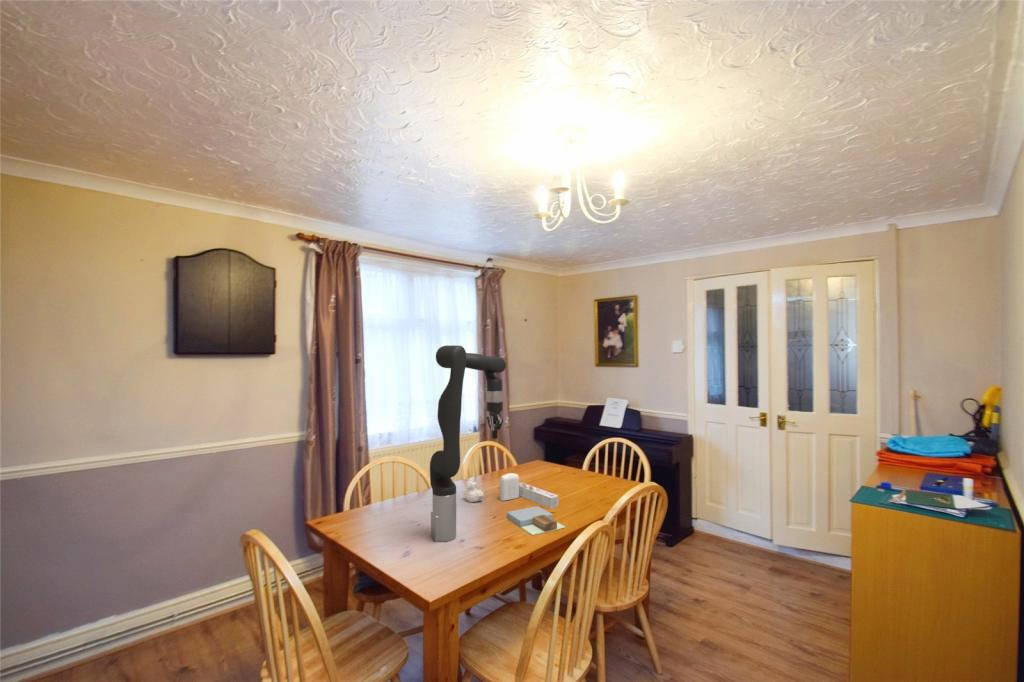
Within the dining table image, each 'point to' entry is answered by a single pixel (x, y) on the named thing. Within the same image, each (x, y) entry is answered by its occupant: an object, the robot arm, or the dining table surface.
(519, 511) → the pale blue flat slab
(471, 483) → the bust
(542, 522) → the block
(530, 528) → the mat
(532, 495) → the box
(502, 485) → the photo printer
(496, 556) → the dining table surface
